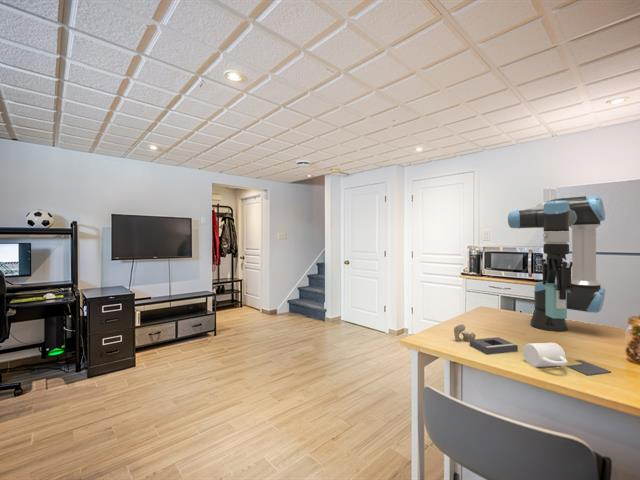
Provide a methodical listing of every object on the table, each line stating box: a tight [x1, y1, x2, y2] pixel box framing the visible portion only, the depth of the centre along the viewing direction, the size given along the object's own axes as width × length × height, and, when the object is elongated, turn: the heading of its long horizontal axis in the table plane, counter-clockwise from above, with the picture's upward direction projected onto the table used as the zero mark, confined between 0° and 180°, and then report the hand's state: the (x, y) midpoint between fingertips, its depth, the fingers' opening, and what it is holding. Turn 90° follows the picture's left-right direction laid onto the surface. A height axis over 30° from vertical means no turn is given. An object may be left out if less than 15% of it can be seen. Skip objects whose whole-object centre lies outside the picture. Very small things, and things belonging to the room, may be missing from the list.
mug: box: [522, 342, 569, 368], centre depth 109 cm, size 12×10×8 cm
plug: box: [545, 283, 568, 320], centre depth 113 cm, size 5×5×12 cm
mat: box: [565, 359, 612, 377], centre depth 108 cm, size 10×10×1 cm
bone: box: [453, 323, 476, 343], centre depth 135 cm, size 9×6×10 cm
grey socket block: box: [469, 336, 519, 355], centre depth 126 cm, size 14×10×3 cm
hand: (556, 306), depth 113 cm, fingers closed on plug, 4 cm apart
